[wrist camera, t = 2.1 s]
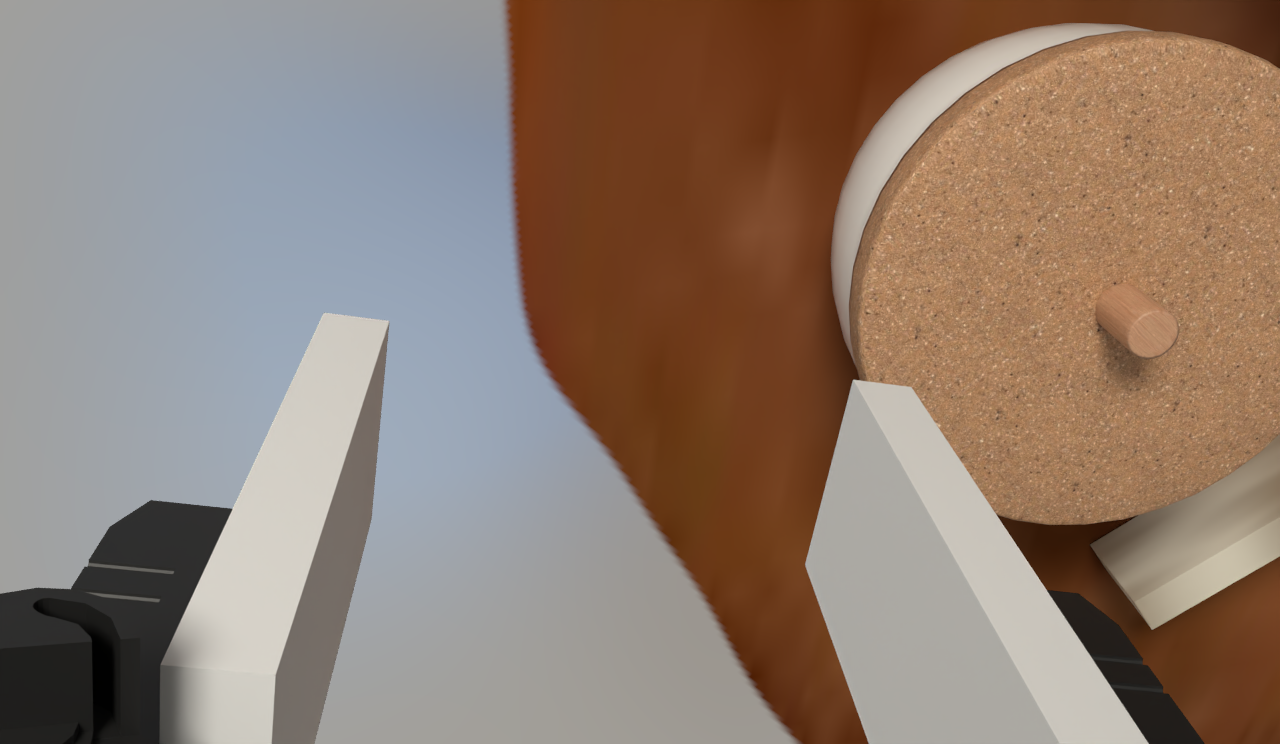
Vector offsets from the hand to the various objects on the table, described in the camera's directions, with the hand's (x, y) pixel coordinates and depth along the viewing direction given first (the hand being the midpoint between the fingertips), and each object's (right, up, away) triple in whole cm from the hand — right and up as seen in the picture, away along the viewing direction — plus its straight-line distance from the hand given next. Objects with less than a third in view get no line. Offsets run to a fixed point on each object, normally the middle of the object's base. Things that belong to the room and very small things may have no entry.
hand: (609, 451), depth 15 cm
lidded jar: (+10, +6, +17) cm, 20 cm away
